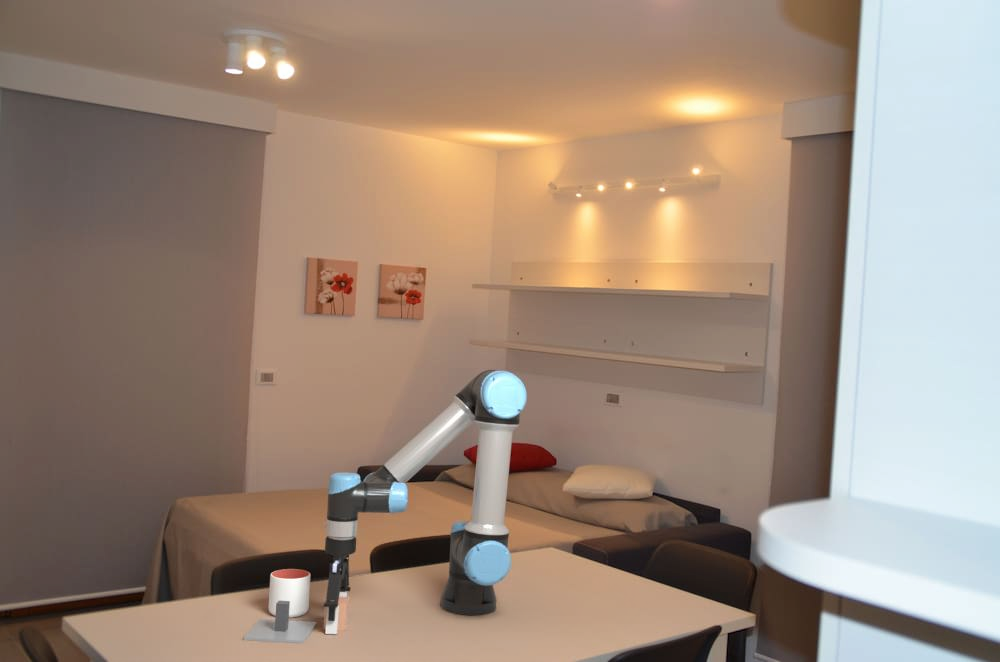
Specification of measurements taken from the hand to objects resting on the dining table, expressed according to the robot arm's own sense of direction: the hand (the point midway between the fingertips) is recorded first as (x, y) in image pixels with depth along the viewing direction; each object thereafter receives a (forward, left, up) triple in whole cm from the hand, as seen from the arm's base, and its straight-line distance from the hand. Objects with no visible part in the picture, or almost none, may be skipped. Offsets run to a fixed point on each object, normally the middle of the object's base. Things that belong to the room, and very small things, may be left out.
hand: (335, 625), depth 213 cm
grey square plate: (+12, +6, 0) cm, 13 cm away
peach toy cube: (0, 0, 0) cm, 0 cm away
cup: (+14, -9, 0) cm, 16 cm away
